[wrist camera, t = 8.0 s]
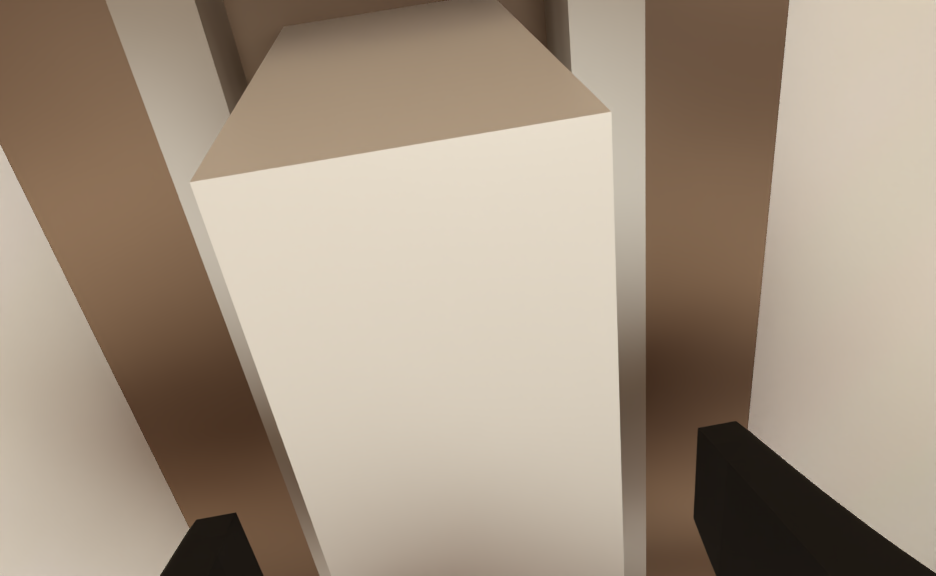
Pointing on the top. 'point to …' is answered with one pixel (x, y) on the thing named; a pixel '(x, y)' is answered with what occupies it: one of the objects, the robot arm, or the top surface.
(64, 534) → the top surface
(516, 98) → the cream rectangular block
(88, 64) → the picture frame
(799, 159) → the top surface
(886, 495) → the top surface
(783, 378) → the top surface
